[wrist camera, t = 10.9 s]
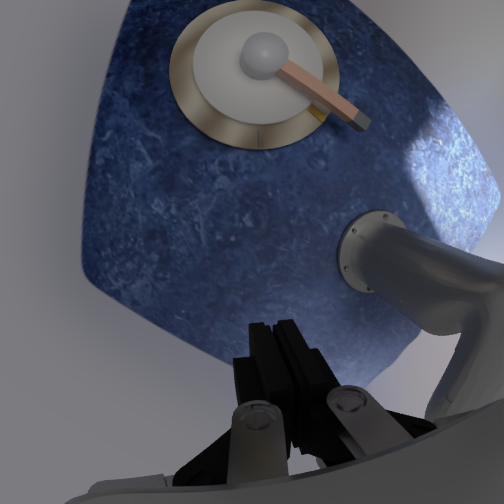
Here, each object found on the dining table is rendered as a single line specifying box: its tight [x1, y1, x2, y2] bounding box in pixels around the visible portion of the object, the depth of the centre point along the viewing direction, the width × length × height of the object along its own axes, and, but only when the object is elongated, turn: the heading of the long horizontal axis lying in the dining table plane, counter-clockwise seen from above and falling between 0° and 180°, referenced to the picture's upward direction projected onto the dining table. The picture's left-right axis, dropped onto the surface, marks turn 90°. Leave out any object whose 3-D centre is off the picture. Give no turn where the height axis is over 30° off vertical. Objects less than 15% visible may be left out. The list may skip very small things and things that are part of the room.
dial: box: [193, 11, 372, 132], centre depth 31 cm, size 22×16×6 cm
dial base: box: [169, 0, 339, 150], centre depth 33 cm, size 22×22×2 cm
